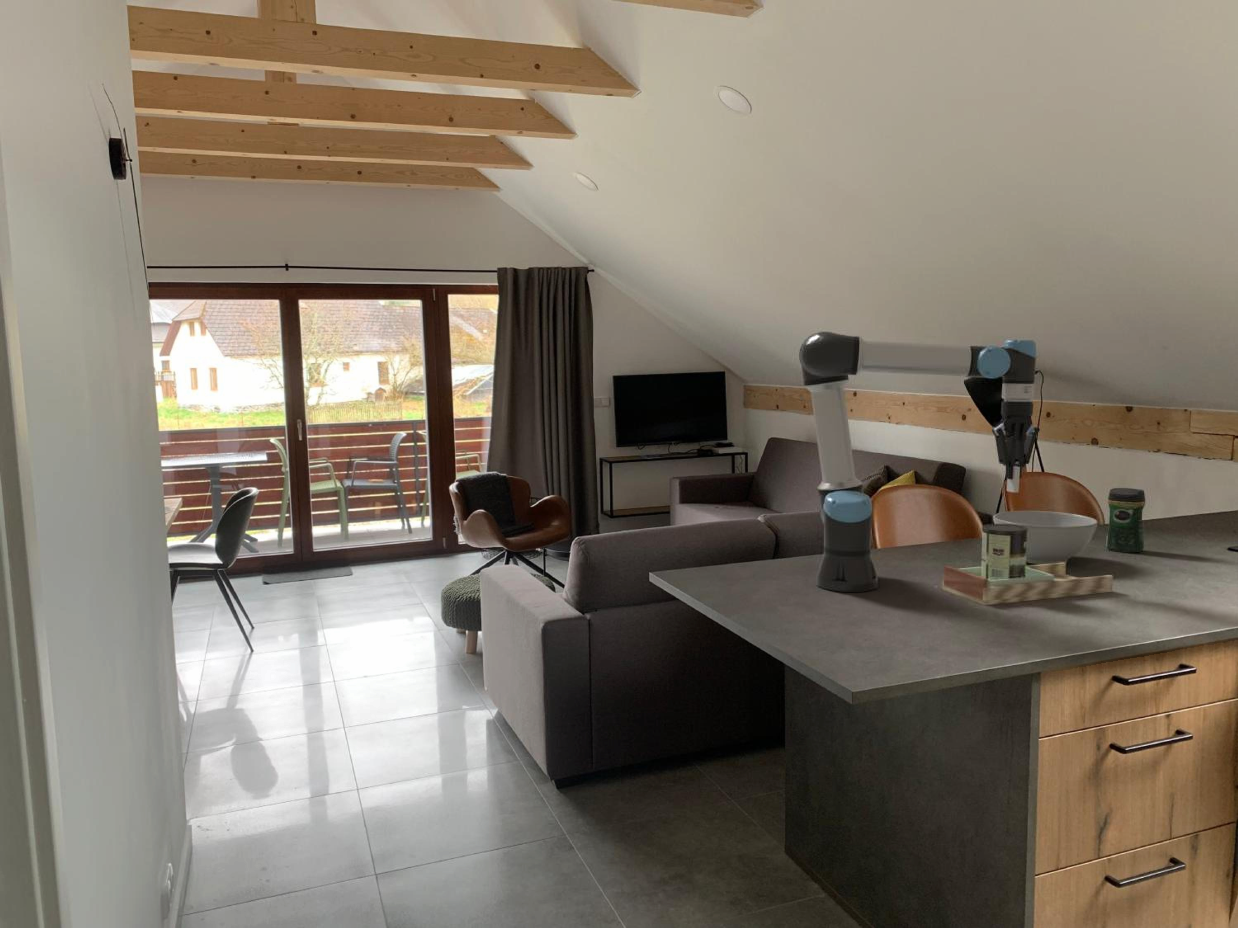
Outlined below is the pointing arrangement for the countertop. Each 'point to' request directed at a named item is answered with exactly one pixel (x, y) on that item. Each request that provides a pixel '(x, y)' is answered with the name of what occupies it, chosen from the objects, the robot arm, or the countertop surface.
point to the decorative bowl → (1051, 533)
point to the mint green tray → (1030, 577)
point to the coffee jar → (1125, 520)
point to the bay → (1023, 586)
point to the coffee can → (1003, 551)
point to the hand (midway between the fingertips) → (1012, 491)
